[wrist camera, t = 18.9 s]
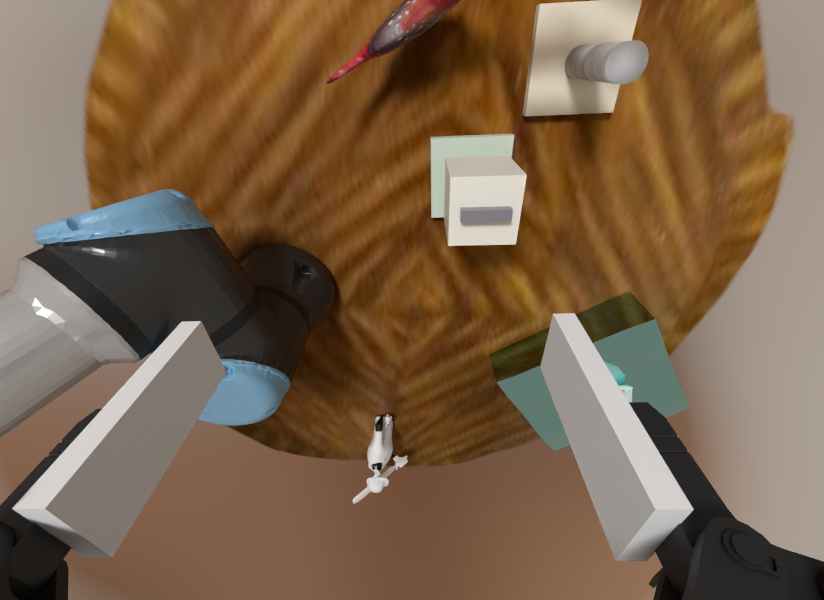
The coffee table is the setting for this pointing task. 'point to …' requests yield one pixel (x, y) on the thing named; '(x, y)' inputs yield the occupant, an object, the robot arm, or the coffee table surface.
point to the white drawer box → (482, 200)
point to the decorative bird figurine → (399, 30)
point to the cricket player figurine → (380, 456)
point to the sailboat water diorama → (622, 353)
